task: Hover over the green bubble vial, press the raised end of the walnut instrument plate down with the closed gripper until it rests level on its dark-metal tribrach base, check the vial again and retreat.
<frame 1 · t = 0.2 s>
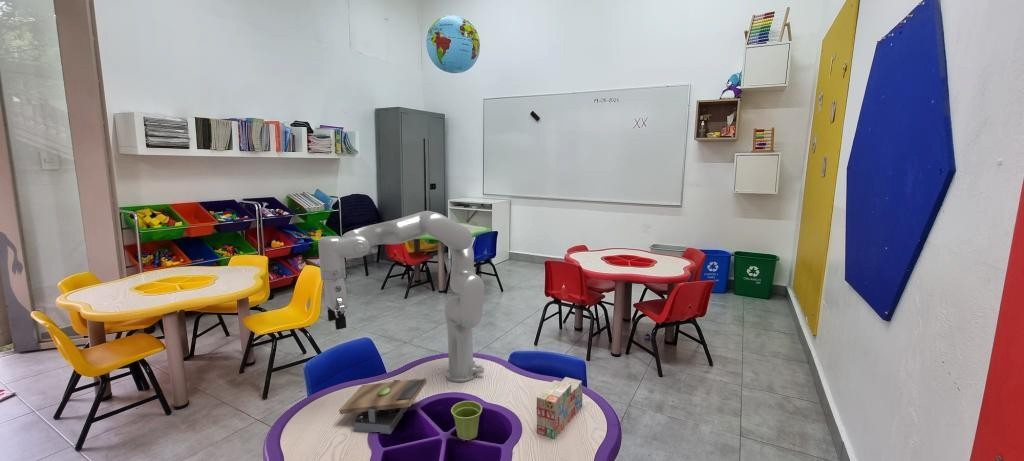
hand: (337, 324, 148), 31 cm above the table, tool pointing down, fingers open, 9 cm apart
stack of blocks: (560, 419, 145), on the table
tribrach base: (386, 414, 150), on the table
instrument plate: (384, 395, 149), point 7 cm above the table, hinge at 10.0°
plant pot: (467, 435, 138), on the table
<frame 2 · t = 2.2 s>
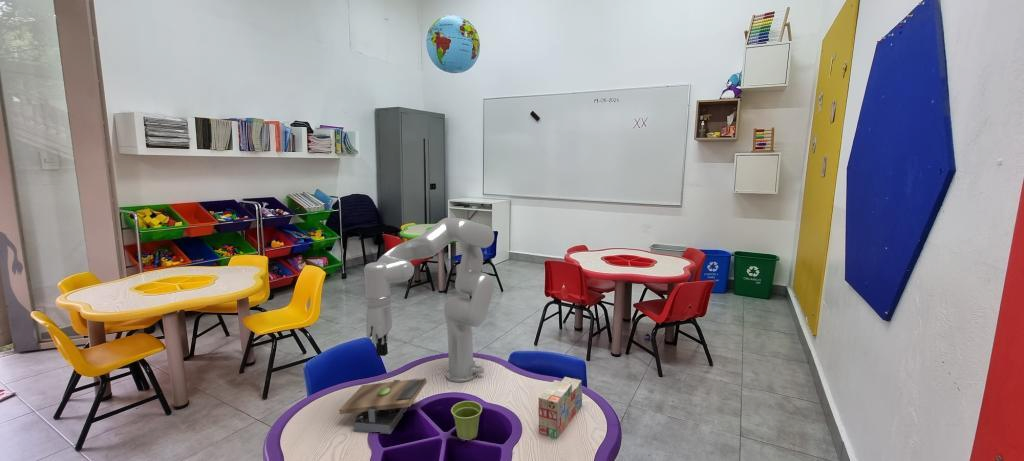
hand: (382, 354, 147), 21 cm above the table, tool pointing down, fingers closed
nothing on the table moved.
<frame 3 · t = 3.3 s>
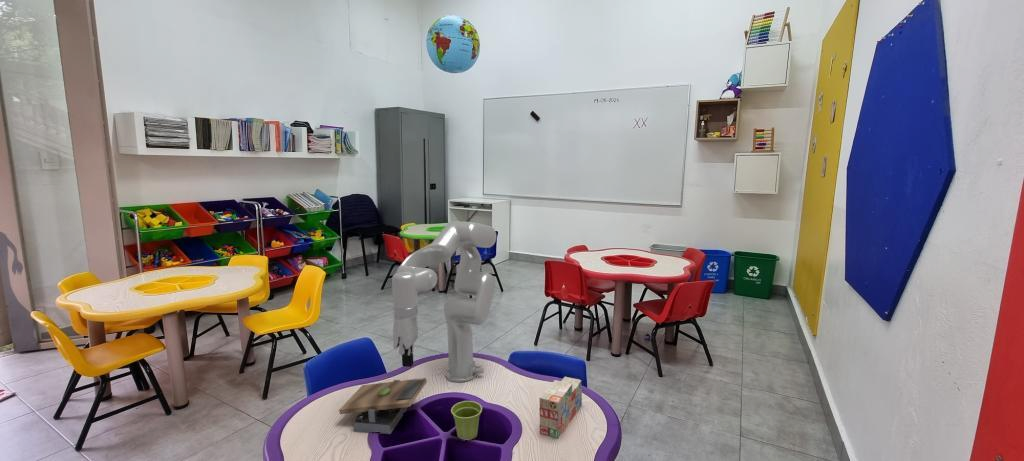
hand: (407, 365, 145), 18 cm above the table, tool pointing down, fingers closed
nothing on the table moved.
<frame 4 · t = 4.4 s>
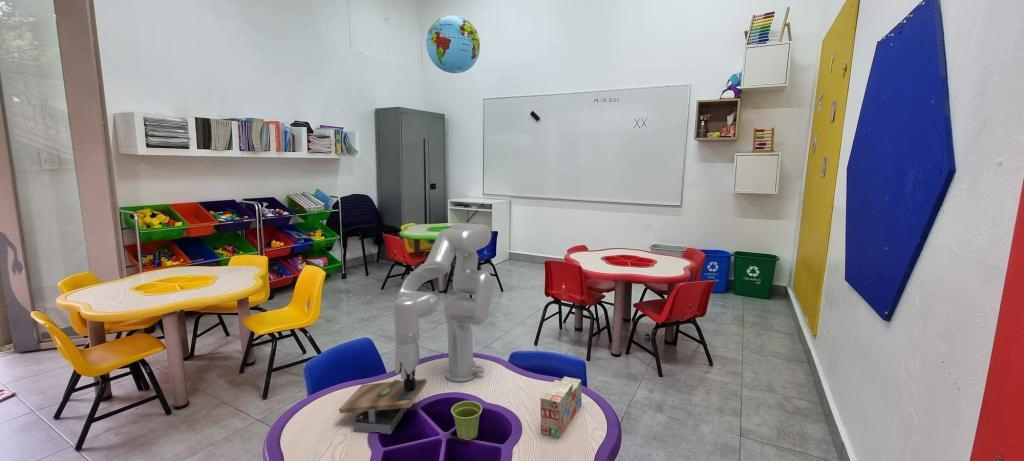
hand: (410, 389, 147), 10 cm above the table, tool pointing down, fingers closed
instrument plate: (384, 395, 149), point 7 cm above the table, hinge at 8.8°, touching gripper
everything else where it was.
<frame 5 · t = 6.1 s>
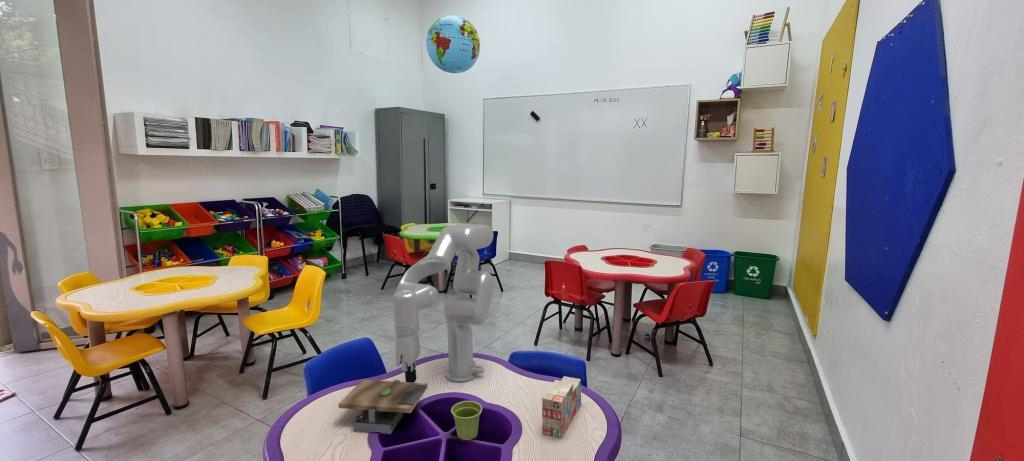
hand: (411, 381, 147), 12 cm above the table, tool pointing down, fingers closed
instrument plate: (385, 395, 149), point 7 cm above the table, hinge at -0.1°
everything else where it was.
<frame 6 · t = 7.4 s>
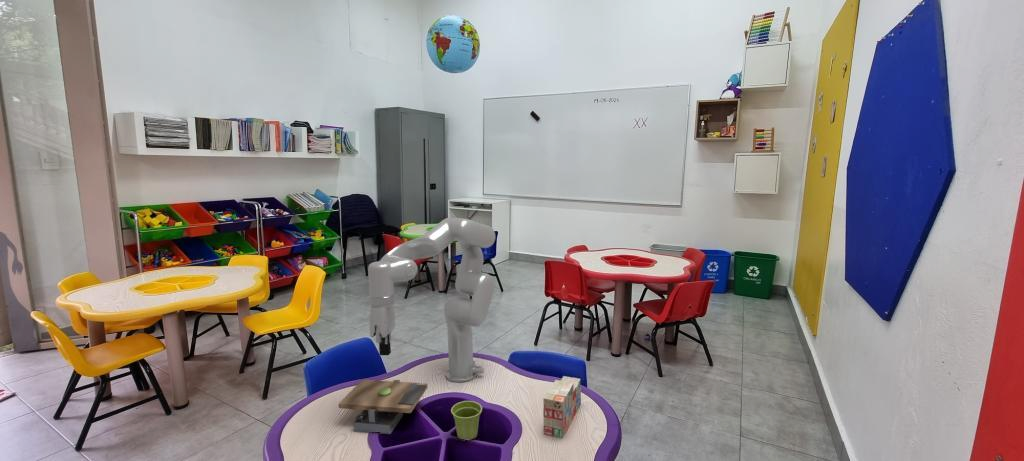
hand: (385, 354, 146), 21 cm above the table, tool pointing down, fingers closed
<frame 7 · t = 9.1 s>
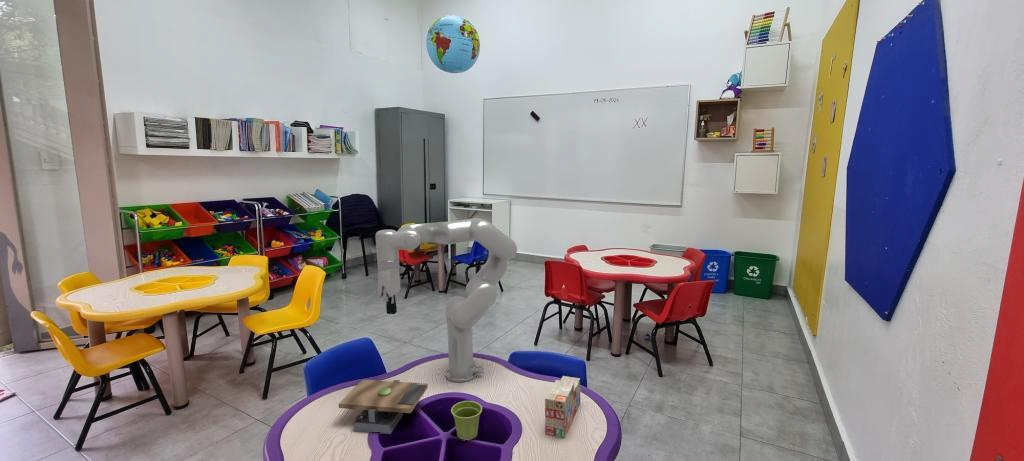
hand: (391, 313, 163), 29 cm above the table, tool pointing down, fingers closed
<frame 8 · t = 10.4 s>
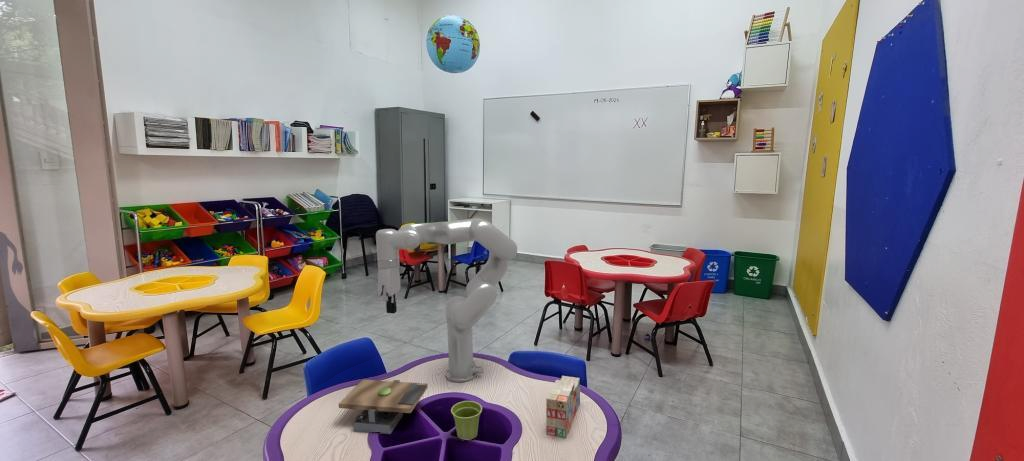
hand: (391, 312, 163), 29 cm above the table, tool pointing down, fingers closed
at the end: instrument plate at +0° (first picture: +10°); plant pot tilted 0° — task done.
